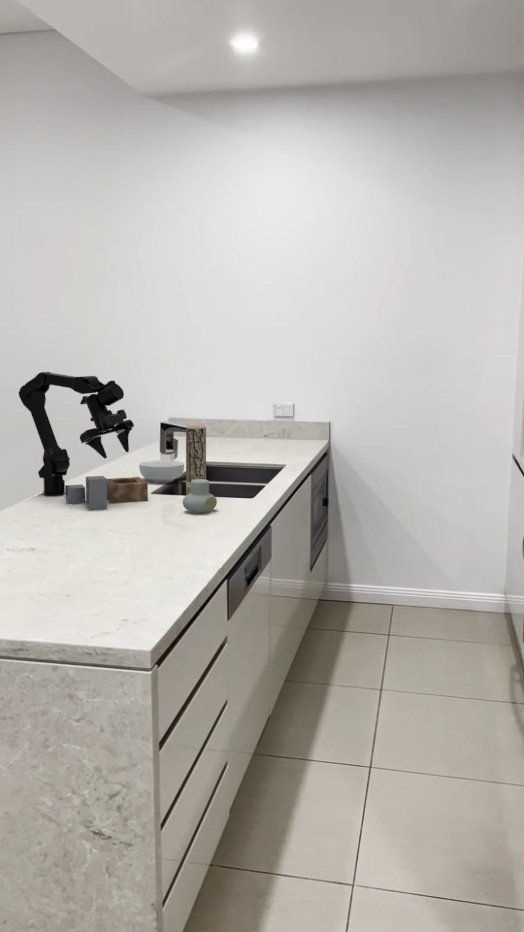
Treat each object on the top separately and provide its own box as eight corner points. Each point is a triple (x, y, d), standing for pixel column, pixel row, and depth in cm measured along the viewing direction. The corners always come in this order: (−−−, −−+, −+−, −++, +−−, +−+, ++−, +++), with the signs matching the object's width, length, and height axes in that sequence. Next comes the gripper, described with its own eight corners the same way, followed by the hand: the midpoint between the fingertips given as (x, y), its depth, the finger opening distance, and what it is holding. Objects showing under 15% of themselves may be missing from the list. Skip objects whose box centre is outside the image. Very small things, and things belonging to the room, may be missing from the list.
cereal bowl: (188, 477, 315) (188, 460, 314) (179, 486, 299) (179, 467, 297) (145, 476, 317) (145, 458, 315) (134, 484, 300) (134, 465, 299)
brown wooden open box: (110, 503, 268) (110, 485, 266) (103, 495, 279) (103, 478, 278) (147, 500, 272) (147, 483, 271) (139, 493, 284) (139, 476, 283)
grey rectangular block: (89, 510, 257) (88, 479, 255) (86, 507, 262) (85, 476, 260) (107, 509, 259) (106, 478, 257) (103, 505, 264) (103, 475, 262)
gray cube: (68, 504, 265) (67, 488, 264) (65, 501, 270) (65, 485, 269) (85, 503, 267) (85, 487, 266) (82, 500, 272) (82, 484, 271)
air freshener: (199, 506, 264) (199, 476, 263) (220, 509, 260) (220, 479, 258) (179, 513, 255) (178, 481, 253) (200, 516, 251) (200, 484, 249)
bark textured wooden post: (202, 500, 274) (203, 427, 270) (183, 499, 275) (183, 426, 271) (208, 496, 280) (208, 425, 276) (189, 495, 282) (189, 424, 277)
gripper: (88, 407, 254) (107, 453, 253) (133, 397, 268) (151, 440, 267) (71, 420, 262) (89, 464, 261) (116, 409, 275) (133, 451, 275)
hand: (116, 455), depth 266 cm, fingers open, 9 cm apart
